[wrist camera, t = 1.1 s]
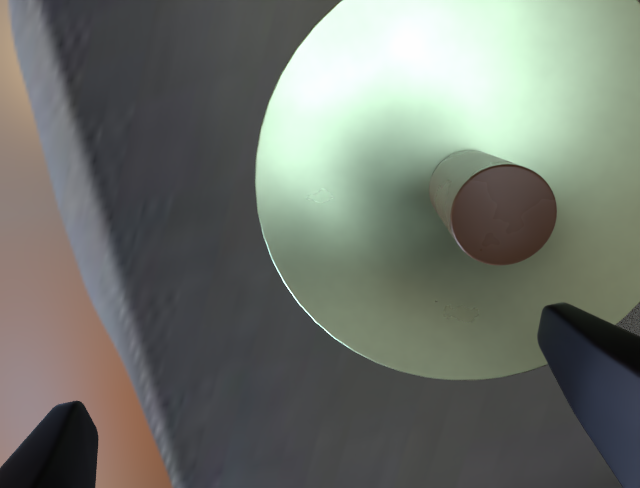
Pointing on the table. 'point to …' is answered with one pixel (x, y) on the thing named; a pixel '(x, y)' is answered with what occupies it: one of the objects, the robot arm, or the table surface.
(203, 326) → the table surface
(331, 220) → the lid
